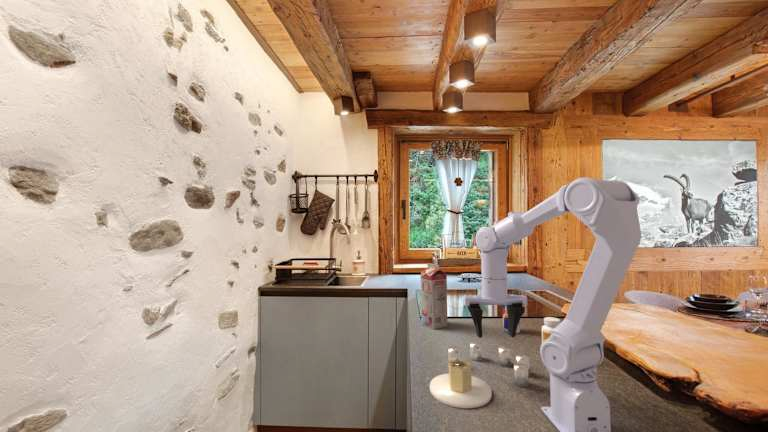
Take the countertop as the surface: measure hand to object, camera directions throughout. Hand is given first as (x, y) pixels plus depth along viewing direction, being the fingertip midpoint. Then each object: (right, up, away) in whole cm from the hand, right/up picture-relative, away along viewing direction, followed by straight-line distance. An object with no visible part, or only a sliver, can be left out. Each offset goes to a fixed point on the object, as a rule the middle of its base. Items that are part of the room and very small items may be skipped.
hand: (495, 335), depth 73 cm
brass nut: (-10, -9, -6) cm, 14 cm away
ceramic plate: (-10, -10, -6) cm, 15 cm away
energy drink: (+17, -11, +32) cm, 38 cm away
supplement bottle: (+21, -10, +13) cm, 26 cm away
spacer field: (0, -10, +4) cm, 11 cm away
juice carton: (-8, -12, +39) cm, 42 cm away
